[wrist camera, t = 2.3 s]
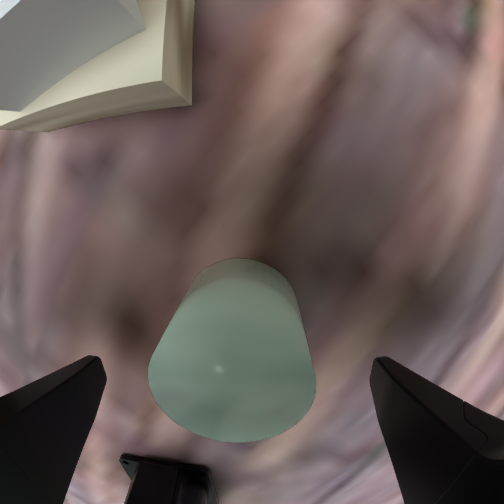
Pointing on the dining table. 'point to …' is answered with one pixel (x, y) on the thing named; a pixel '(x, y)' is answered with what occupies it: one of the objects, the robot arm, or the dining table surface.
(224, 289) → the mint green cylinder
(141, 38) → the birch base block
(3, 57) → the grey top block
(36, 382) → the robot arm
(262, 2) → the dining table surface
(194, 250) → the dining table surface
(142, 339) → the dining table surface
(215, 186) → the dining table surface
